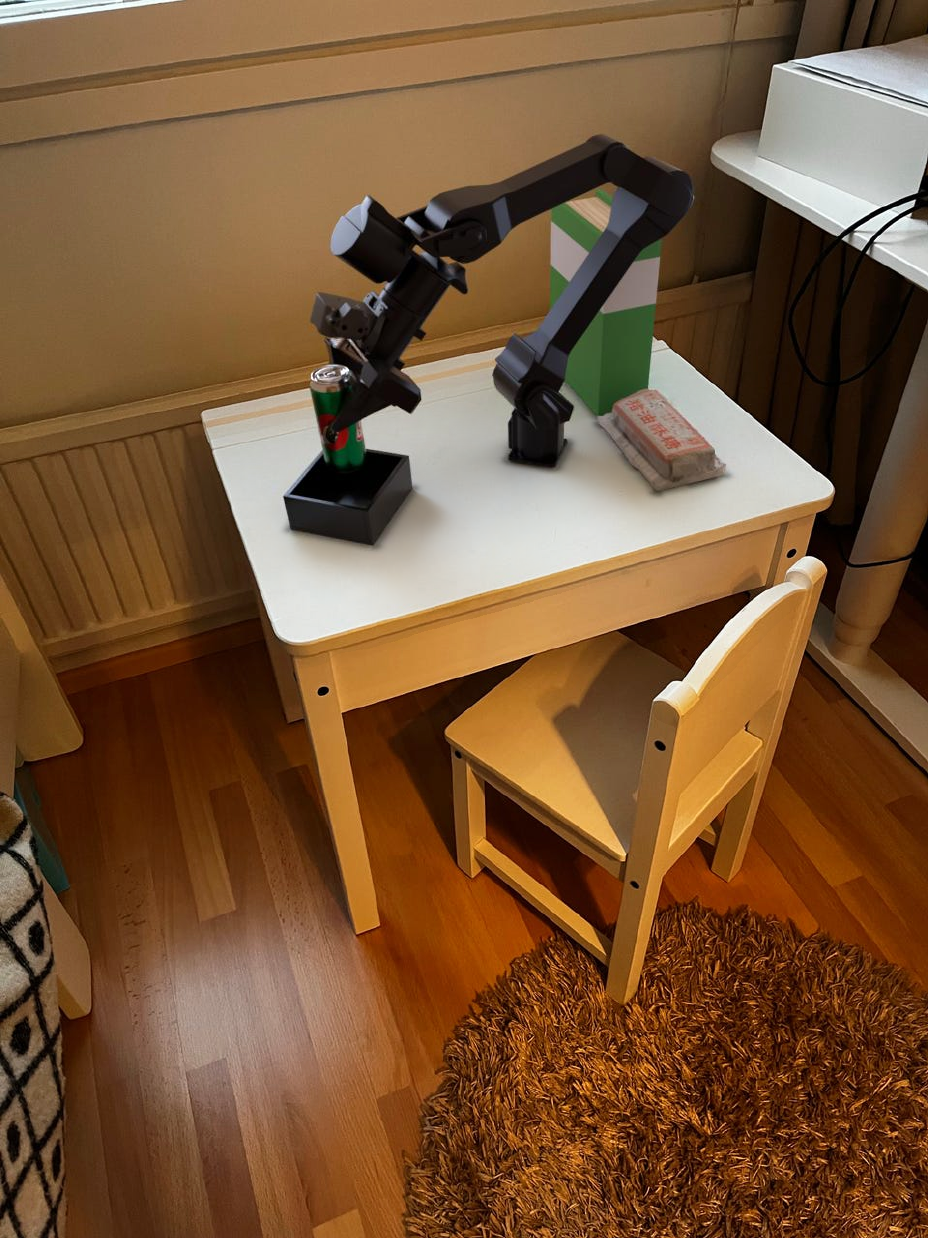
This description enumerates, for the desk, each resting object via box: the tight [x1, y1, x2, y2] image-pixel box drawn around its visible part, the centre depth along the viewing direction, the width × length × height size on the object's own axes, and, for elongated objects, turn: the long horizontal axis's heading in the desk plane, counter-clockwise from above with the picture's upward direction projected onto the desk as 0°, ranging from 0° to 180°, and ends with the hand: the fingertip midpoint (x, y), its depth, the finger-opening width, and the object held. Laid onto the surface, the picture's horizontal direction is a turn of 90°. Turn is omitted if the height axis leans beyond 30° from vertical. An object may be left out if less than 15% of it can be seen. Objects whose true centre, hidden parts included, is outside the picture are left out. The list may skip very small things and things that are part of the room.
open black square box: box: [282, 448, 413, 547], centre depth 113 cm, size 11×12×5 cm
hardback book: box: [549, 188, 663, 418], centre depth 126 cm, size 18×7×24 cm, turn 19°
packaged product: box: [597, 388, 727, 491], centre depth 119 cm, size 18×5×10 cm
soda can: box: [309, 364, 367, 474], centre depth 106 cm, size 5×5×12 cm
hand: (326, 419), depth 105 cm, fingers closed on soda can, 5 cm apart
